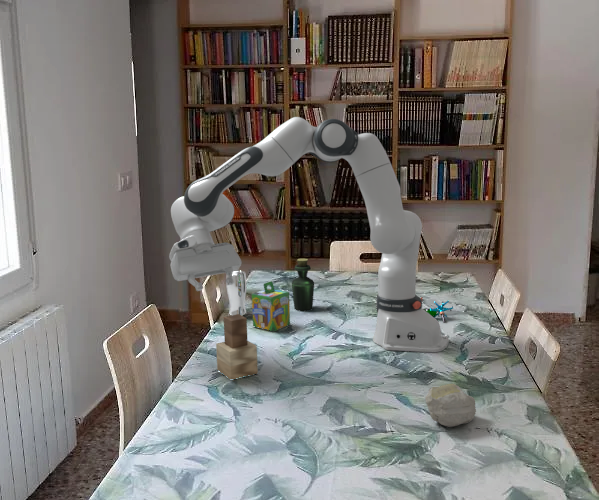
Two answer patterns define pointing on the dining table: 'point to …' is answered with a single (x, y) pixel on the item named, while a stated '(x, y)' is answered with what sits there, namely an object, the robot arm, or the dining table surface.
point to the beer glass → (237, 293)
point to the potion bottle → (302, 287)
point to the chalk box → (270, 308)
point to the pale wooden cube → (237, 360)
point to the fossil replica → (450, 405)
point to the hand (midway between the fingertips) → (215, 286)
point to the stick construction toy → (434, 311)
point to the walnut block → (235, 331)
